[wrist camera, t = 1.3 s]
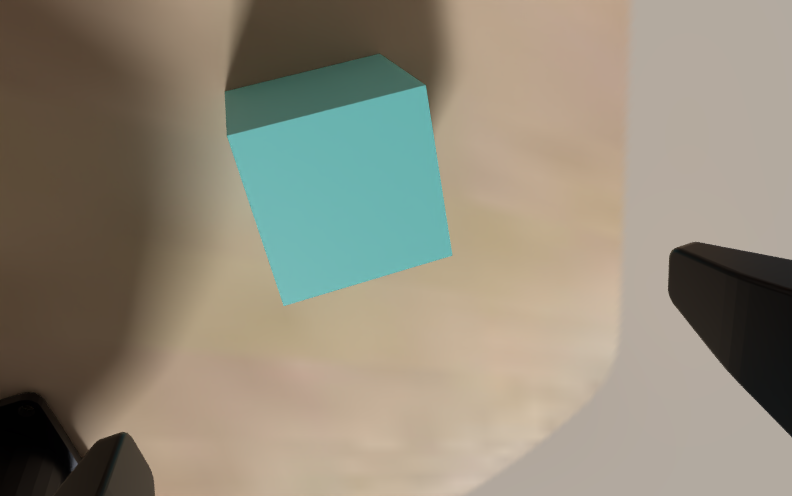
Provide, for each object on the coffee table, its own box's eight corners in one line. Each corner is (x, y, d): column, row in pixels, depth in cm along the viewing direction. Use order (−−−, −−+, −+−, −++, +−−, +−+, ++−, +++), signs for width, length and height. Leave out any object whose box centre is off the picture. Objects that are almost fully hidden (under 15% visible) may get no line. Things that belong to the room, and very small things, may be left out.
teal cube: (405, 193, 22) (452, 255, 17) (270, 231, 21) (283, 305, 17) (379, 53, 19) (425, 84, 15) (224, 91, 19) (226, 135, 14)
